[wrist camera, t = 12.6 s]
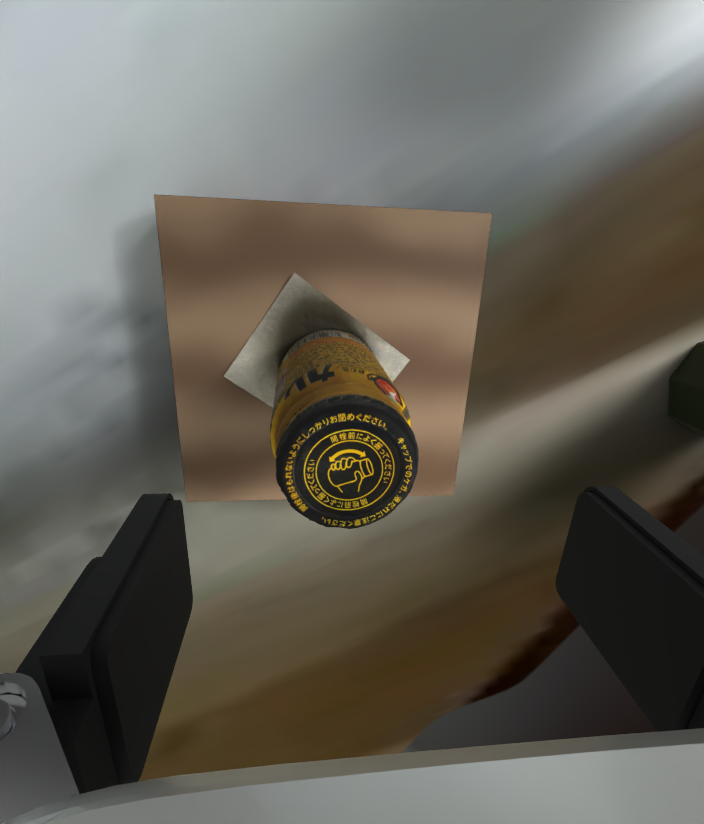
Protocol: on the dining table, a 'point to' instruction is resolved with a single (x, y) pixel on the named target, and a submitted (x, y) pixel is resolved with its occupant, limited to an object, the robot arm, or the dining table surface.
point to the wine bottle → (689, 391)
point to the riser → (343, 284)
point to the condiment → (330, 409)
